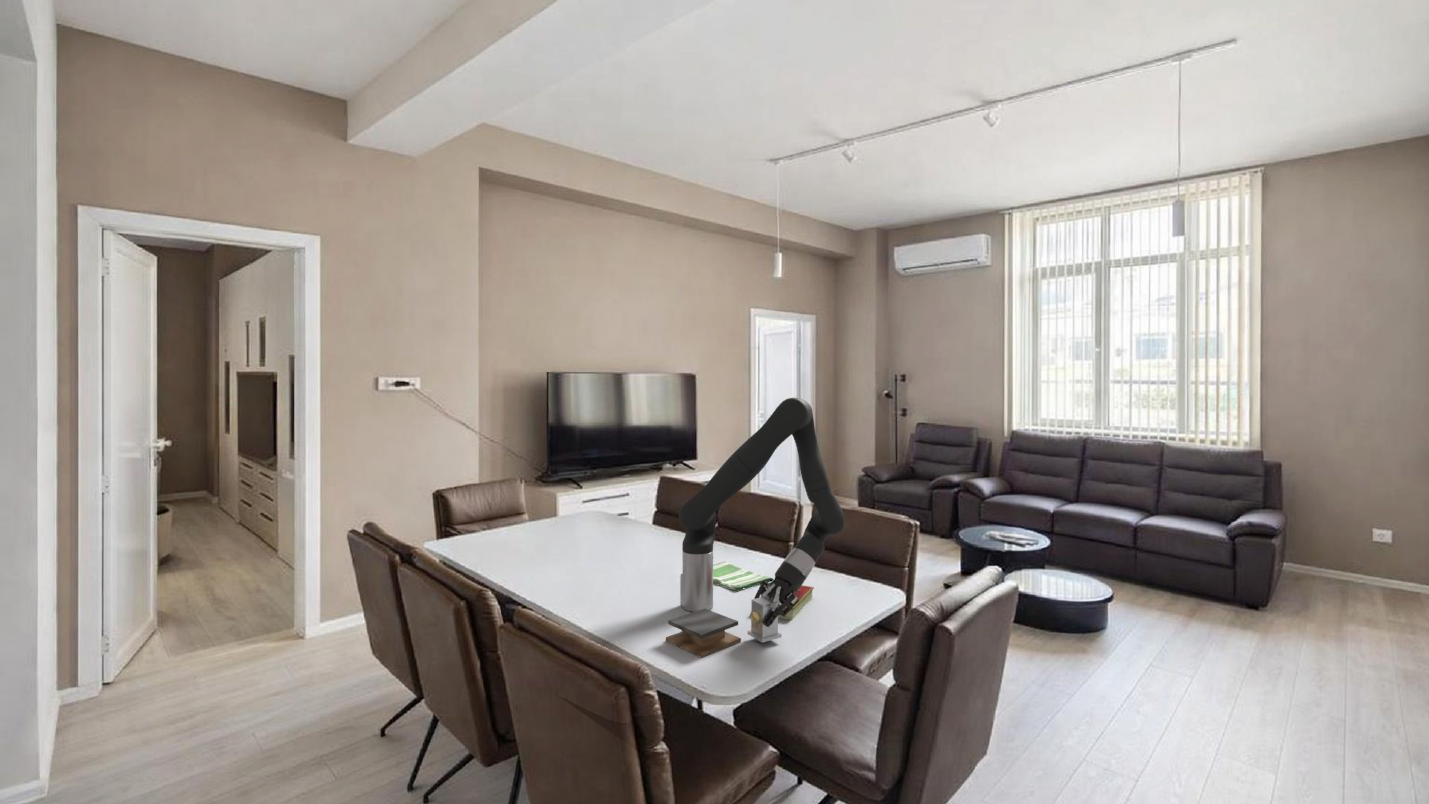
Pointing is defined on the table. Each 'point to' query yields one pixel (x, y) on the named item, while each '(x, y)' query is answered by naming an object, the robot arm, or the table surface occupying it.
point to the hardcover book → (804, 596)
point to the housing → (758, 615)
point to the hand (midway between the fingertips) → (759, 621)
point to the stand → (703, 632)
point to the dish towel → (736, 577)
